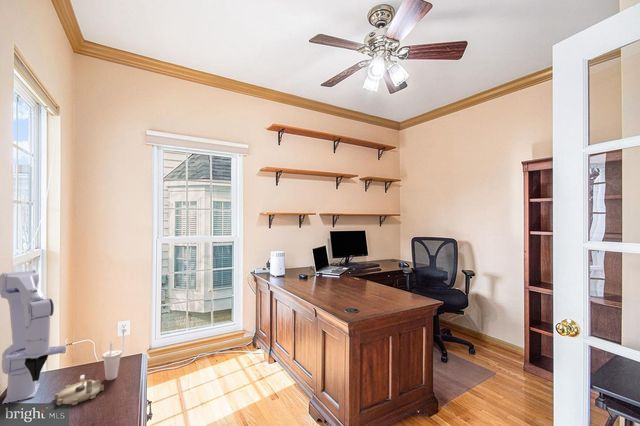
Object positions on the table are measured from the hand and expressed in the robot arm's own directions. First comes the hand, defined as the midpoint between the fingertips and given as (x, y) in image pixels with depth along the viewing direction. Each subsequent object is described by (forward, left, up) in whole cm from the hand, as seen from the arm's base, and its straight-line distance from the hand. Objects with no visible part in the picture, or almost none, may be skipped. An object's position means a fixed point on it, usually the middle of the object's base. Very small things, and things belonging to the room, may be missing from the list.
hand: (36, 379), depth 99 cm
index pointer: (-13, +11, -10) cm, 20 cm away
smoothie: (-12, +21, -11) cm, 26 cm away
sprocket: (-4, +11, -10) cm, 16 cm away
